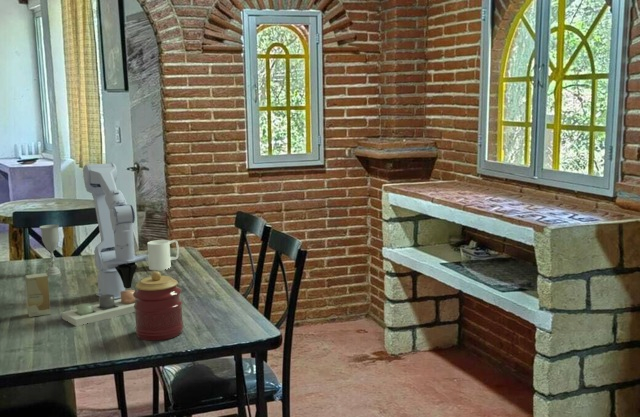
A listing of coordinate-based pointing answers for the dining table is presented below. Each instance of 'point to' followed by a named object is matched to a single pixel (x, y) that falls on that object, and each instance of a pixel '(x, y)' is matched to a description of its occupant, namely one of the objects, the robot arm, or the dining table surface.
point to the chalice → (51, 244)
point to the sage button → (84, 309)
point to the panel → (98, 313)
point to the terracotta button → (127, 296)
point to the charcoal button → (106, 301)
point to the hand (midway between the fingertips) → (127, 287)
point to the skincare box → (37, 294)
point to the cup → (160, 254)
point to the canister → (158, 308)
